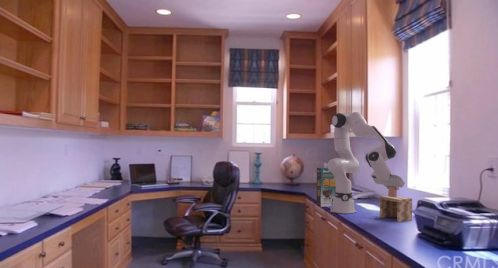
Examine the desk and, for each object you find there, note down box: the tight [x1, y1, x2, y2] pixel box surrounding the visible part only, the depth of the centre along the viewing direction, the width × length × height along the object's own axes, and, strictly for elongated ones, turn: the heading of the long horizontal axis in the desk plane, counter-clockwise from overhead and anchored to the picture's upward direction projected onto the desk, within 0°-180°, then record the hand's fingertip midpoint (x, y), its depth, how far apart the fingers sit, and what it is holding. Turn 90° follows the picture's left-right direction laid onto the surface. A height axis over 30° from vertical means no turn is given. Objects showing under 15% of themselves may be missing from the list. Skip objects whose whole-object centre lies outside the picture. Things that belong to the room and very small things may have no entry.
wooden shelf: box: [379, 195, 413, 223], centre depth 251 cm, size 12×16×14 cm
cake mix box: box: [316, 167, 336, 208], centre depth 302 cm, size 22×6×30 cm, turn 111°
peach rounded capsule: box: [387, 186, 398, 197], centre depth 242 cm, size 5×5×9 cm
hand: (393, 188), depth 242 cm, fingers closed on peach rounded capsule, 5 cm apart
